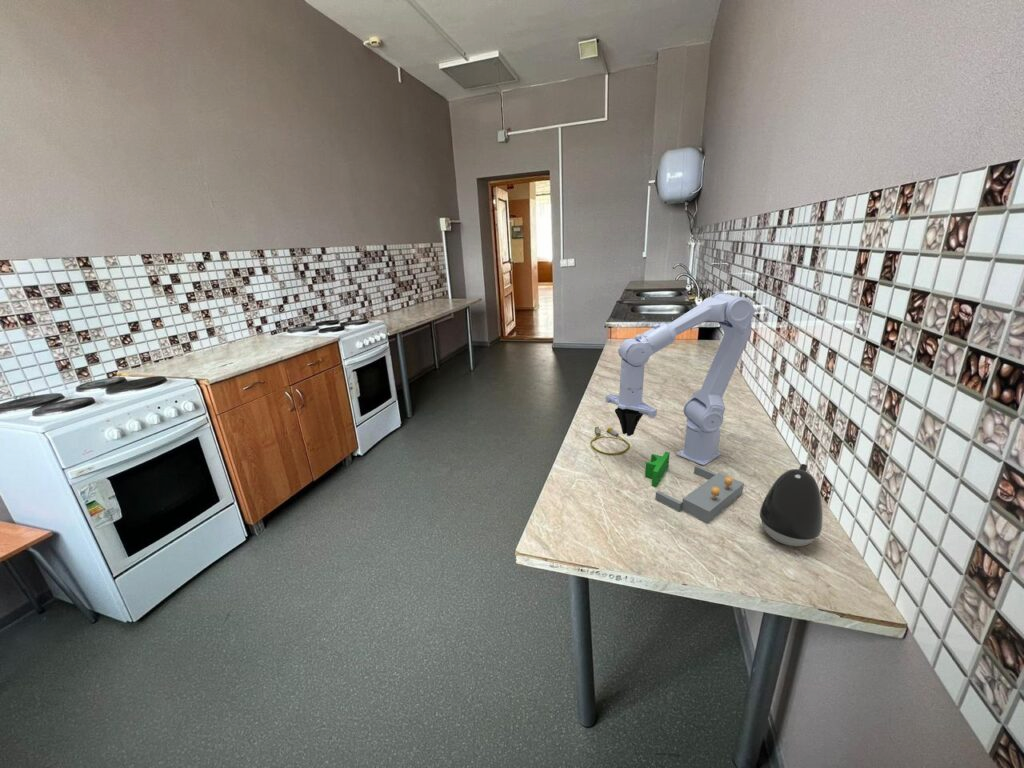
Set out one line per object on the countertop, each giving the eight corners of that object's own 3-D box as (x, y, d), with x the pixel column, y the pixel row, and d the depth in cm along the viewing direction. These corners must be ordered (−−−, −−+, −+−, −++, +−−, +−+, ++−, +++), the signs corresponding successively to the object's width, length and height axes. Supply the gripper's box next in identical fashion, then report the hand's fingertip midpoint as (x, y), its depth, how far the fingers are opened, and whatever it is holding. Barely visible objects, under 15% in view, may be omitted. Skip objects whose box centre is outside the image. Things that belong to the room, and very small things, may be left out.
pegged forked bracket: (695, 471, 105) (698, 452, 103) (744, 492, 96) (748, 471, 94) (655, 499, 95) (657, 478, 93) (705, 525, 86) (708, 502, 84)
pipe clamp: (654, 463, 110) (655, 448, 108) (668, 467, 108) (670, 452, 106) (640, 483, 101) (642, 467, 100) (656, 488, 99) (657, 471, 98)
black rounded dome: (820, 533, 82) (837, 468, 77) (812, 563, 75) (831, 493, 70) (763, 513, 89) (775, 451, 84) (750, 538, 81) (764, 473, 76)
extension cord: (634, 435, 126) (634, 430, 125) (625, 460, 113) (626, 453, 112) (595, 429, 131) (595, 424, 130) (583, 452, 117) (583, 446, 117)
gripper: (598, 382, 107) (597, 429, 111) (646, 397, 96) (642, 448, 100) (616, 376, 111) (613, 422, 115) (663, 390, 100) (658, 439, 104)
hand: (628, 433), depth 108 cm, fingers closed
